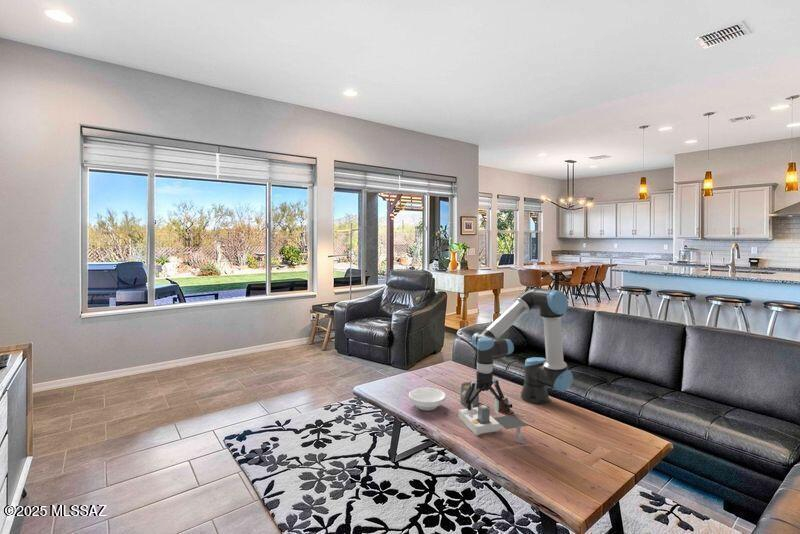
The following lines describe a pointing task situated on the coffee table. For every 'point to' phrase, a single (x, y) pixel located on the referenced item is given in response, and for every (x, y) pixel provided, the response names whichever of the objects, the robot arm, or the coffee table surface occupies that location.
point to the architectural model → (519, 438)
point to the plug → (483, 414)
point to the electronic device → (505, 406)
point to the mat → (510, 421)
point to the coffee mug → (464, 390)
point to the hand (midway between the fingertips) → (483, 414)
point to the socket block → (474, 423)
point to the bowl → (427, 398)
